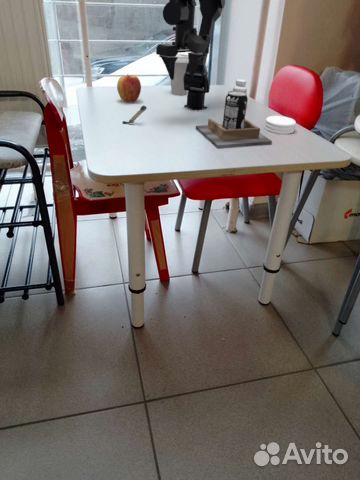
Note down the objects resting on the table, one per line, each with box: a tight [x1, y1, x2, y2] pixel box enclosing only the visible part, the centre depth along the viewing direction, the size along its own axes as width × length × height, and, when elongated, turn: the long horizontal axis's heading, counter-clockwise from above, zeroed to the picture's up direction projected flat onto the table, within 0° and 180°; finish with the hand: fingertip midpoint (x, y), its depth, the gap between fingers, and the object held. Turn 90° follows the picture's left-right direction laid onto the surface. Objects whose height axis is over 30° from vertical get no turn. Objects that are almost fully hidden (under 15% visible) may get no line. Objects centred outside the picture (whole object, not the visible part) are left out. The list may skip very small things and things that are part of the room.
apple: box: [116, 73, 142, 103], centre depth 138 cm, size 9×9×10 cm
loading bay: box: [195, 118, 273, 149], centre depth 112 cm, size 18×18×4 cm
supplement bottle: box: [232, 78, 248, 93], centre depth 140 cm, size 5×5×10 cm
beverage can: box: [222, 90, 248, 130], centre depth 109 cm, size 7×7×12 cm
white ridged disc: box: [264, 115, 297, 135], centre depth 120 cm, size 10×10×4 cm
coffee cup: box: [170, 53, 189, 96], centre depth 152 cm, size 10×10×15 cm
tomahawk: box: [122, 105, 147, 126], centre depth 126 cm, size 21×7×1 cm, turn 167°
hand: (182, 78), depth 119 cm, fingers open, 9 cm apart
